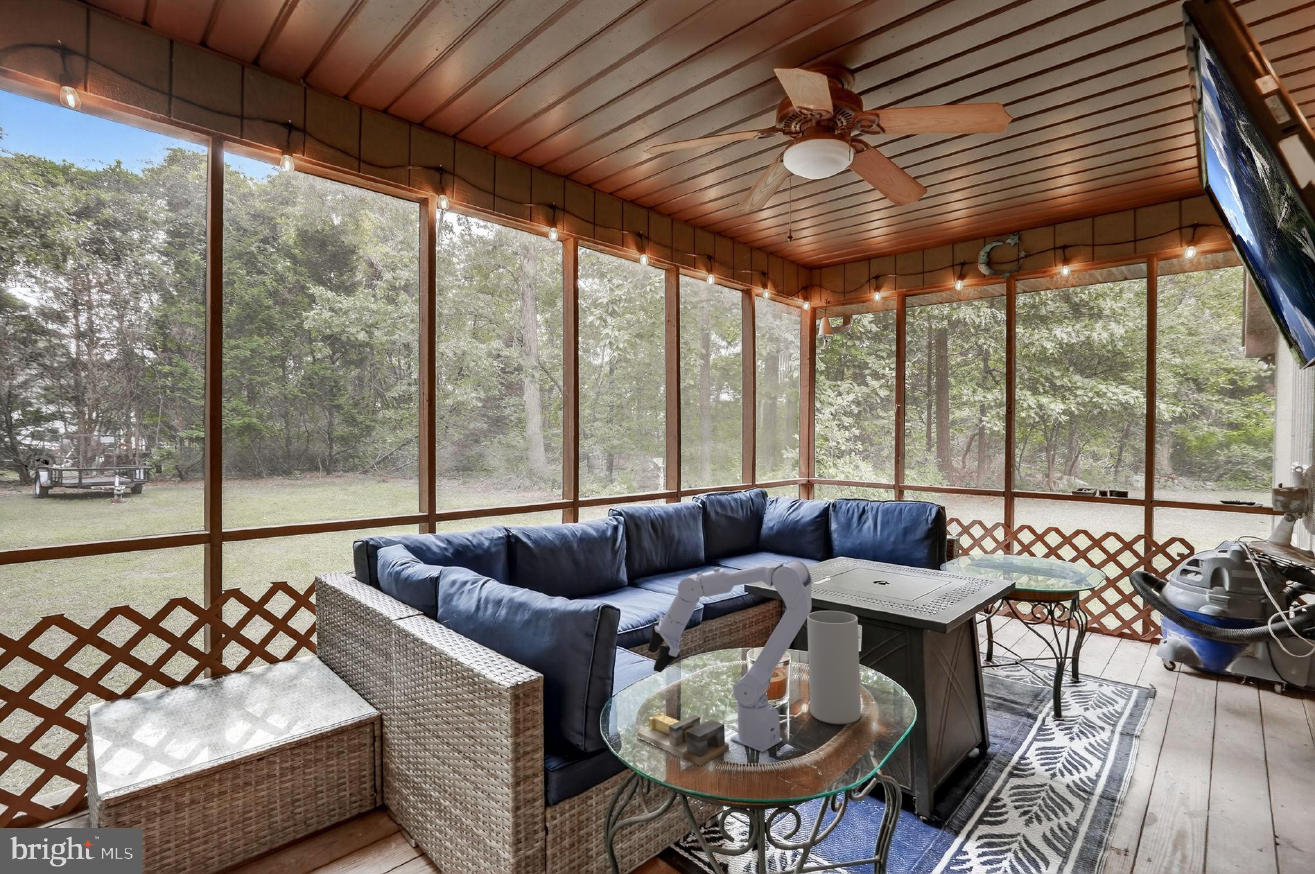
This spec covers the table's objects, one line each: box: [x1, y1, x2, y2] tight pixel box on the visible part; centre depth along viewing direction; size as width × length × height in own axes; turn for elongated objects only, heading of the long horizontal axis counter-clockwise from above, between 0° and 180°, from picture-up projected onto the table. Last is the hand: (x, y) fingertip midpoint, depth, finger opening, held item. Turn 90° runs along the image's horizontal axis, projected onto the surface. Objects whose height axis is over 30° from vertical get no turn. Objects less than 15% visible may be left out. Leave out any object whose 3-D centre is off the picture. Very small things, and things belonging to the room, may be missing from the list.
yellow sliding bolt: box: [648, 712, 694, 742], centre depth 153 cm, size 12×4×2 cm, turn 44°
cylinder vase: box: [806, 610, 862, 725], centre depth 164 cm, size 12×12×25 cm
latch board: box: [637, 714, 730, 767], centre depth 151 cm, size 20×10×6 cm, turn 44°
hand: (654, 660), depth 164 cm, fingers open, 7 cm apart
